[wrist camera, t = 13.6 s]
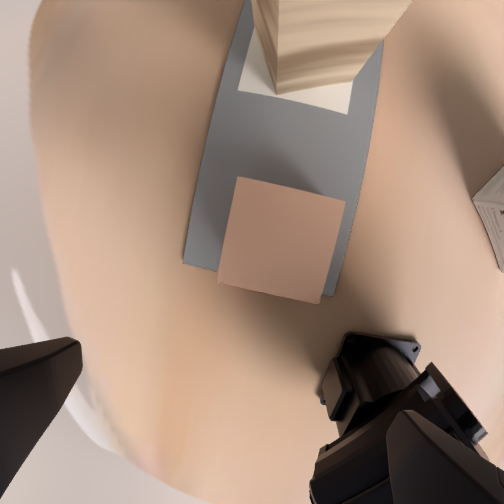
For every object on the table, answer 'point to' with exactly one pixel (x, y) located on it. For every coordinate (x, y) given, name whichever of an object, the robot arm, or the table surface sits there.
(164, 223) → the table surface
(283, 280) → the terracotta block
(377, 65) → the mat
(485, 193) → the supplement box
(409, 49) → the table surface
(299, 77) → the beech post
